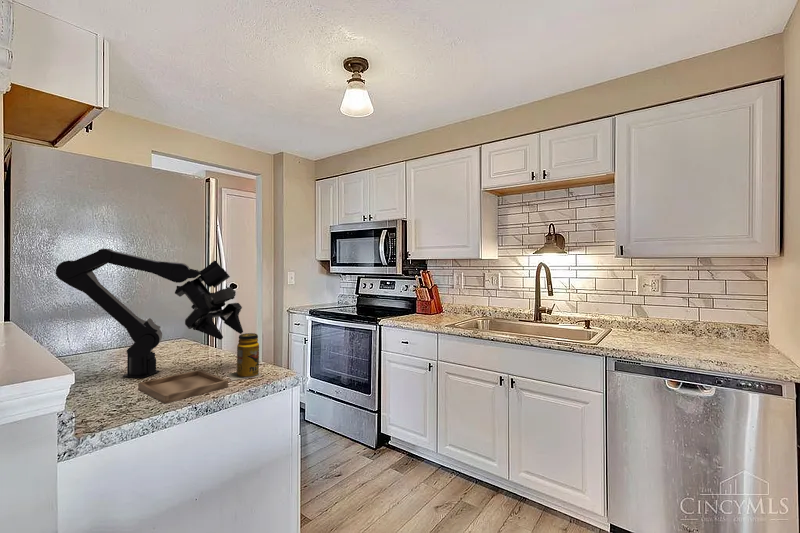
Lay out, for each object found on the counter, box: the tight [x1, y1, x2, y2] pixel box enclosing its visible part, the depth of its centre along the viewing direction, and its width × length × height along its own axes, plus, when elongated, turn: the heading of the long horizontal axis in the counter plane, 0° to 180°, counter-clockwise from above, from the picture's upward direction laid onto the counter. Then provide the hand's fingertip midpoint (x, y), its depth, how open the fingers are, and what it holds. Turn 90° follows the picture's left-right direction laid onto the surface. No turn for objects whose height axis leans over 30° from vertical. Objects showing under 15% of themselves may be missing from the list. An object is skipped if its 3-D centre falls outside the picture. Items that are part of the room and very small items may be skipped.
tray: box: [137, 369, 229, 404], centre depth 102 cm, size 16×16×2 cm
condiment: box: [226, 332, 263, 381], centre depth 115 cm, size 7×8×12 cm
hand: (232, 335), depth 116 cm, fingers open, 9 cm apart
